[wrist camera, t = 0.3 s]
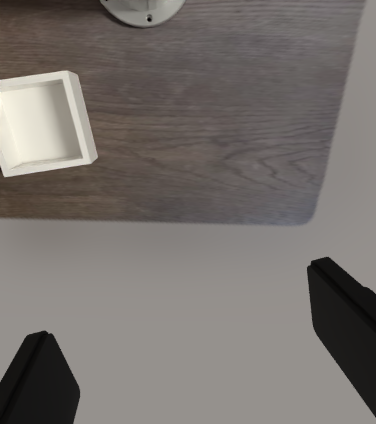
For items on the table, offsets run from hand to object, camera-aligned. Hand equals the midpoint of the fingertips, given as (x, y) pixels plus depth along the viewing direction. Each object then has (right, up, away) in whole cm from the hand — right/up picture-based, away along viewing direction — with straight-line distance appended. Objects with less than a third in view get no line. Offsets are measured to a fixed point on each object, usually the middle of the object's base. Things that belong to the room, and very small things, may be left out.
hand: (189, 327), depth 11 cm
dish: (-19, +16, +30) cm, 40 cm away
